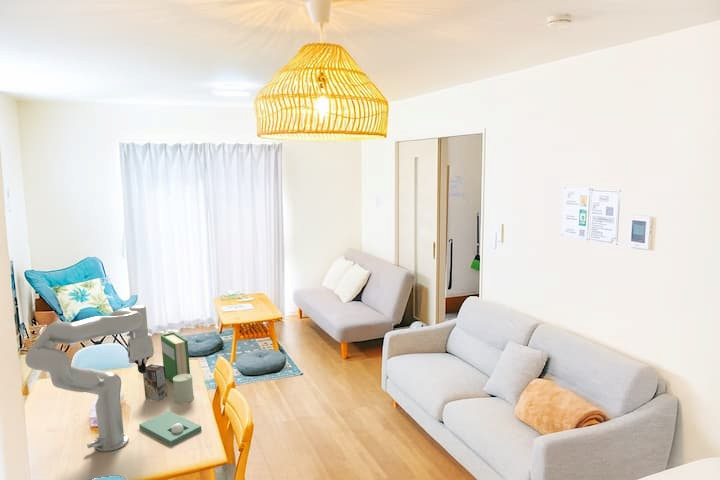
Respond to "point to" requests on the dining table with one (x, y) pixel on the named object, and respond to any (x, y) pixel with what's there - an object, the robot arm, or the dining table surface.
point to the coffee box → (155, 383)
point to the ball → (177, 428)
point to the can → (183, 388)
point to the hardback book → (175, 355)
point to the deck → (169, 427)
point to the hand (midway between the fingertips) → (142, 372)
